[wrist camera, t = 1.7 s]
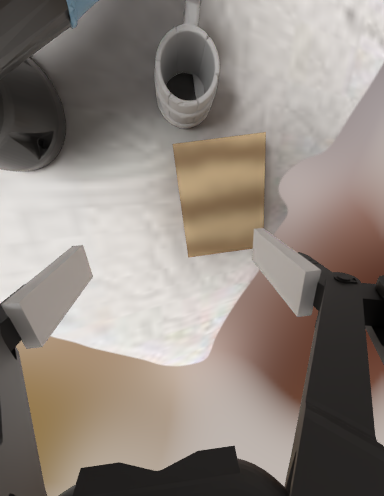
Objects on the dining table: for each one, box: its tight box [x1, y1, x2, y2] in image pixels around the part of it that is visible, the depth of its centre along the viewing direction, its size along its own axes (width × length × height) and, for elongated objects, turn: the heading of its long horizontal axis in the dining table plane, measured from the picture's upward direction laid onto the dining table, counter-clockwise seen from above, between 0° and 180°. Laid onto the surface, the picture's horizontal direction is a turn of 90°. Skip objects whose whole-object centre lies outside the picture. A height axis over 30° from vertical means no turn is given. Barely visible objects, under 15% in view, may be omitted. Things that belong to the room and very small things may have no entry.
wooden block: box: [173, 132, 266, 257], centre depth 31 cm, size 16×12×6 cm
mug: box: [154, 0, 220, 128], centre depth 22 cm, size 8×12×12 cm, turn 174°
